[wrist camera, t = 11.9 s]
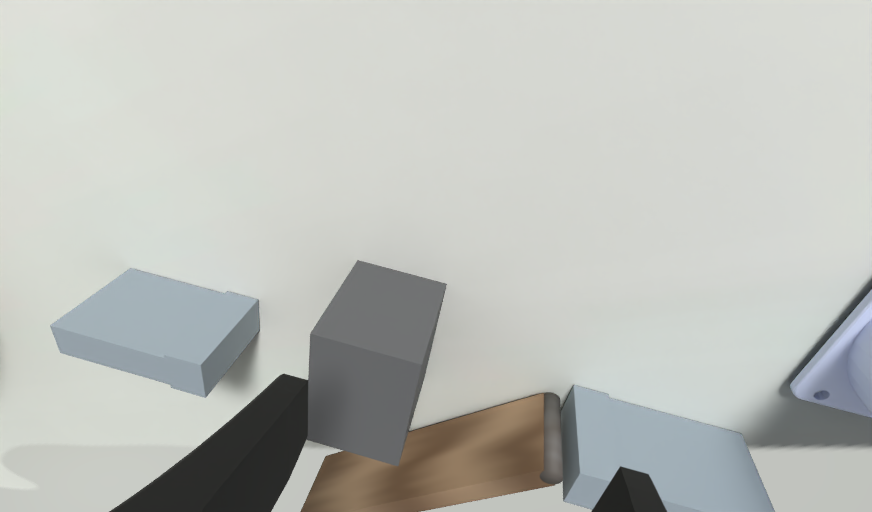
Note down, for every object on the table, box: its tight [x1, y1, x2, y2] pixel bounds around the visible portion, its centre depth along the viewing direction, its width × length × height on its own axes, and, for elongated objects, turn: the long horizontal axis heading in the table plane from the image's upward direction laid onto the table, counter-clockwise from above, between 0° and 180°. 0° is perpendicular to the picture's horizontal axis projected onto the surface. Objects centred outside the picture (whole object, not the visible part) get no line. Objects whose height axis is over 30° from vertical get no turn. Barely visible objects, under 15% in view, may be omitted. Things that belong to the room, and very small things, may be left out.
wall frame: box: [50, 268, 775, 512], centre depth 21 cm, size 30×2×4 cm, turn 80°
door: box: [301, 393, 563, 512], centre depth 23 cm, size 15×1×4 cm, turn 123°
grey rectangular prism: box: [307, 260, 447, 466], centre depth 20 cm, size 4×6×5 cm, turn 169°
